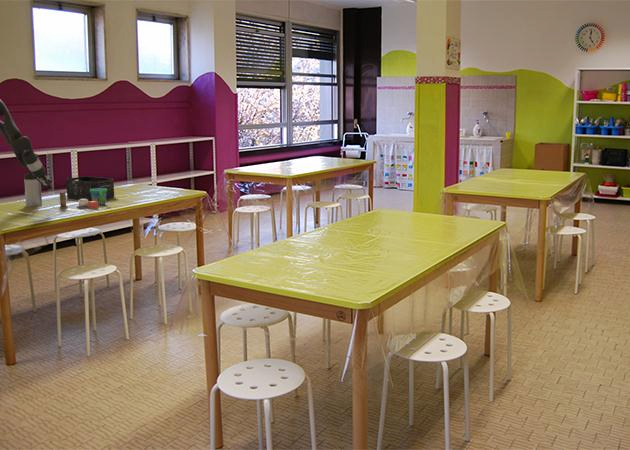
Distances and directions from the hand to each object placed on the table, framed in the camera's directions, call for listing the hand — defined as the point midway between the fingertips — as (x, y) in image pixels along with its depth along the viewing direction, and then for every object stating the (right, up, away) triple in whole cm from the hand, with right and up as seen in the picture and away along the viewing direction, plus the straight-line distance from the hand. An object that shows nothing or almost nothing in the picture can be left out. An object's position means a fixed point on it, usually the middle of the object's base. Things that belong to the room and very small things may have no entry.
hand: (50, 188), depth 403 cm
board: (+13, -12, +11) cm, 21 cm away
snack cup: (+20, -9, +29) cm, 36 cm away
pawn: (+4, -11, +11) cm, 16 cm away
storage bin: (+6, -4, +56) cm, 56 cm away
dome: (+15, -9, +14) cm, 23 cm away
